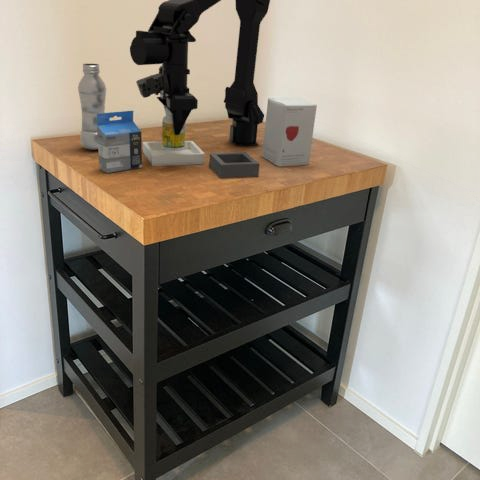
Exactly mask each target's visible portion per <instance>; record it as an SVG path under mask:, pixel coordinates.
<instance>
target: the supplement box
mask: <svg viewBox="0 0 480 480" xmlns="http://www.w3.org/2000/svg"><path fill="white" fill-rule="evenodd" d="M317 107H318V105H317V104H316V103H314V102H311V101H308V100H305V99H303V98H301V97H268V98H267V106H266V116H265V123H264V124H265V126H264V133H263V134H264V135H263V141H262V142H263V143H262V152H261V157H262V158H264V159H265V160H267V161H269V162H270V163H272V164H273V165H275V166H277V167H278V168H279V167H291V166H293V167H294V166H295V167H296V166H305V165H308V166H309V165H310V157H311V151H312V150H311V149H312V144H313V137H314V128H315V123H316V122H315V121H316V114H317Z"/></svg>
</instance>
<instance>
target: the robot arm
mask: <svg viewBox="0 0 480 480" xmlns="http://www.w3.org/2000/svg"><path fill="white" fill-rule="evenodd" d="M221 1H222V0H167V1H164V2H162V3H161V4H159V6H158V10H157V11H158V12H157V14H156V16H155V17H154V18H153V21H152V23H151V24H150V27H148V30H147V31H144V30H136V31H135V36H134V37H133V39H132V41H131V43H130V46H129V52H130V53H129V54H130V57H131V59H132V62H133V63H134V64H135V65H137V66H147V65H148V66H151V65H160V66H159V68H158V73H155V74H151V75H149V76H146V77H143V78H141V79H140V78H139V79H138V80H136V81H135V83H136V86H137V88H138V91H139V94H140V95H141V96H142V98H148V97H151V96H152V95H155V96H157V97H156V99H157V100H158V101H159V102H160V103H161V104H162V105H163V108H164V110H165V108H167V109H168V110H169V111H170V112H171V115H172V122H173V129H174V134H175V135H179V134H180V132H181V130H182V128H183V126H184V124H185V125H186V122H187V120H188V117H189V116H190V114H191V112H192V111H193V110H197V109H198V106H199V105H198V104H199V103H198V102H199V101H198V99H197V98H196V96H194V94H192V93H191V92H190V88H189V87H188V75H190V74H191V70H190V69H189V68H188V64H189V62H188V60H189V58H188V57H189V43H195V42H197V40H196V38H195V36H194V35H192V33H191V32H190V30H191V29H192V28H193V27H195V25H197V23H198V22H199V20H200V17H201V15H202V14H203V13H204V12H206V11H208V10H209V9H211V8H212V7H213V6H215V5H216V4H218V3H219V2H221ZM270 2H271V0H235V11H236V13H237V16H238V18H239V33H238V41H237V51H236V60H235V61H236V63H235V71H234V72H235V73H234V79H233V80H234V81H233V82H232V83H231V85H230V86H226V87H225V89H224V95H225V96H224V99H223V103H224V104H225V105H224V108H225V109H226V113H227V117H228V119H229V120H230V119H231V120H232V124H230V127H229V128H230V129H229V141H230V142H231V143H232V144H233V145H235V146H237V147H239V146H242V147H244V146H247V147H251V146H259V142H257V135H258V125H260V124H262V123H264V119H265V114H264V112H263V110H262V109H261V108H260V106H259V103H258V101H259V100H258V99H259V94H258V91H257V89H256V86H255V83H254V82H255V81H254V80H255V79H254V78H255V71H256V61H257V53H258V46H259V45H258V44H259V36H260V26H261V23H262V21H263V20H264V19H265V17H266V15H267V14H268V11H269V8H270V7H269V6H270ZM165 116H167V115H166V114H165Z"/></svg>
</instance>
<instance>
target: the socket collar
mask: <svg viewBox="0 0 480 480" xmlns="http://www.w3.org/2000/svg"><path fill="white" fill-rule="evenodd" d="M208 160H209V161H208V162H209V163H208V166H209V167H210V168H211V169H212V170H213V172H214V173H216V175H217V176H218V177H219V178H220V179H228V178H247V177H249V178H252V177H259V172H260V163H259V162H258V160H256V159H255V158H254V157H252V156H251V155H250V154H249V153H247V152H246V151H245V152H243V151H239V152H211V153H210V152H209V159H208Z"/></svg>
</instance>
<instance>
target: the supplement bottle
mask: <svg viewBox="0 0 480 480" xmlns="http://www.w3.org/2000/svg"><path fill="white" fill-rule="evenodd" d="M164 113H165V116H163V118H162V123H161V125H162V131H161V132H162V136H161V137H162V139H161V140H162V141H161V142H162V144H163V148H164V149H165V150H169V151H181V150H183V149H184V148H185V141H186V123H185V124H184V126H183V128H182V130H181V132H180V134H179V135H175V134H174V129H173V122H172V115H171V112H170V111H169V110H168V109H167V108H165V109H164ZM166 115H167V116H166Z"/></svg>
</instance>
